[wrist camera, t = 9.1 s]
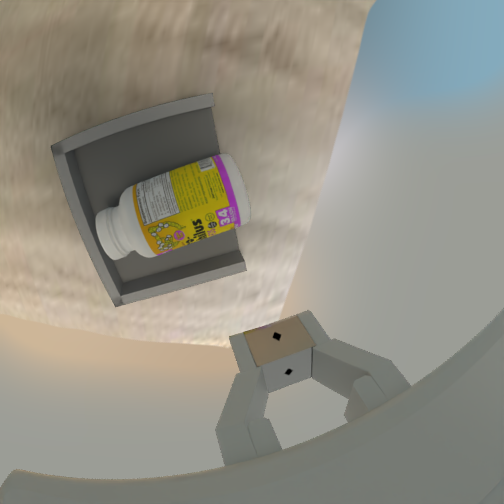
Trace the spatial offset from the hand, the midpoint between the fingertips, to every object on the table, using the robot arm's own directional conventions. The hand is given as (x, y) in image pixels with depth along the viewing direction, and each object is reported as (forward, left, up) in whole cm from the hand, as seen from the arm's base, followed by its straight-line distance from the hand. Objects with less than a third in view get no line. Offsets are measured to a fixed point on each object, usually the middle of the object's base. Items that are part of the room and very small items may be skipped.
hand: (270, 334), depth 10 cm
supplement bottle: (+3, 0, -17) cm, 17 cm away
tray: (-5, 0, -20) cm, 21 cm away
